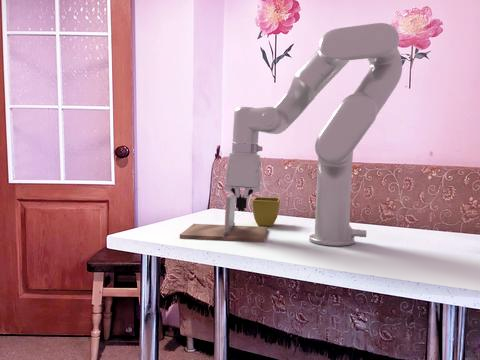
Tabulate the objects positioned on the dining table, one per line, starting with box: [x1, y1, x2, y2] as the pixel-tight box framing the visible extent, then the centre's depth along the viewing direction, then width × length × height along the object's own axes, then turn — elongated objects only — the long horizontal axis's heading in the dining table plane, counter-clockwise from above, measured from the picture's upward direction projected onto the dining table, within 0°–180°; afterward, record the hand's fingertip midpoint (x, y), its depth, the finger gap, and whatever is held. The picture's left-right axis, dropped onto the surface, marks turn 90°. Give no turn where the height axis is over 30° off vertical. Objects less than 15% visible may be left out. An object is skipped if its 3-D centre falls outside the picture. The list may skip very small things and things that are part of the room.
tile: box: [224, 192, 236, 232], centre depth 131 cm, size 10×12×1 cm
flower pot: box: [251, 196, 281, 227], centre depth 148 cm, size 9×9×9 cm
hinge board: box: [179, 222, 268, 243], centre depth 132 cm, size 24×18×2 cm
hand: (241, 210), depth 131 cm, fingers closed
